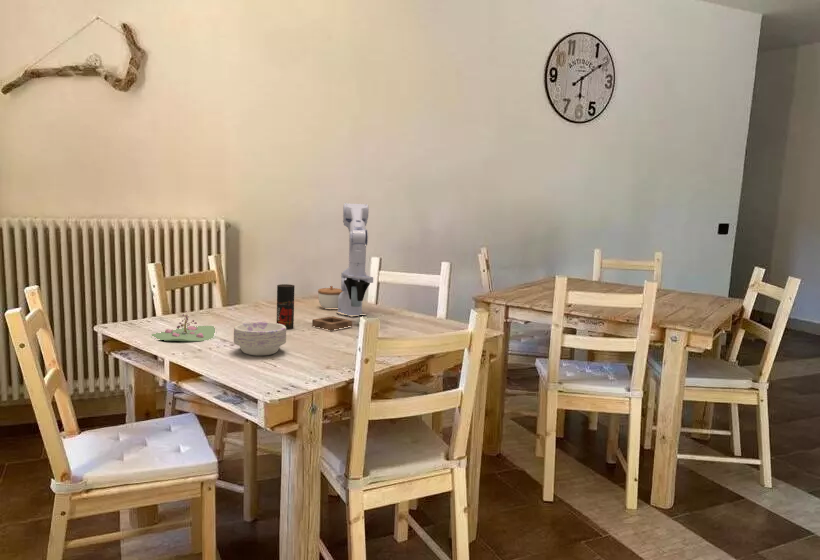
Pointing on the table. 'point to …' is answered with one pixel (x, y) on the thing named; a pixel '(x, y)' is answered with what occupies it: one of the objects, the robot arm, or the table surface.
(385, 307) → the table surface
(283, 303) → the deodorant
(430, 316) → the table surface
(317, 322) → the socket block
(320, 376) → the table surface
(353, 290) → the peg
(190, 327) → the plant
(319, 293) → the lidded jar
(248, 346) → the paper bowls
